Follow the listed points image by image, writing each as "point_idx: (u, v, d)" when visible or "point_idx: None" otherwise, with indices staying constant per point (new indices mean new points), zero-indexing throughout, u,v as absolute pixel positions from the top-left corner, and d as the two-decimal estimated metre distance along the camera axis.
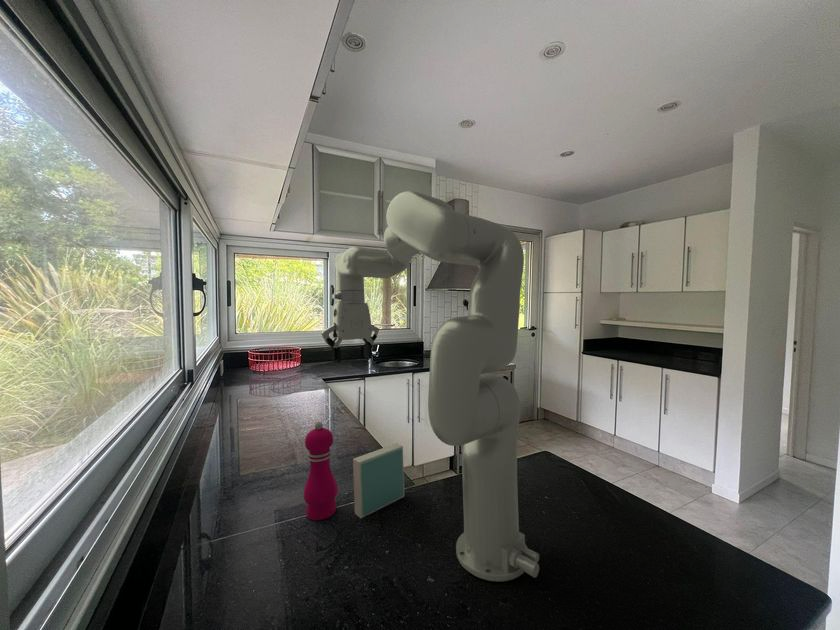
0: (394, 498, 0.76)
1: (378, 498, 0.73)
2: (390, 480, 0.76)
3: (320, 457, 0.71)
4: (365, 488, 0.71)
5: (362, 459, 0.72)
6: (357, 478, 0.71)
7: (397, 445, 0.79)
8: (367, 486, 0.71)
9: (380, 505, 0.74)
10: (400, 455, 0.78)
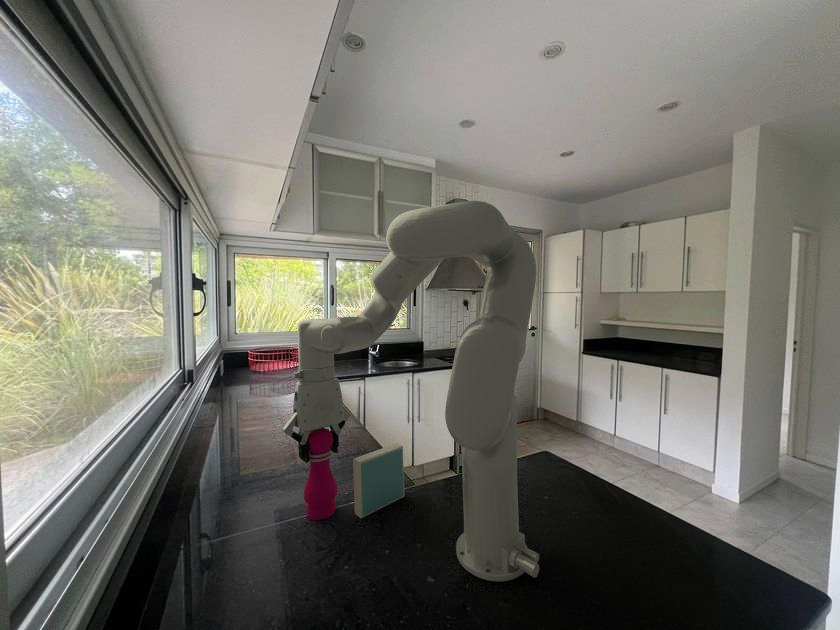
0: (394, 498, 0.76)
1: (378, 498, 0.73)
2: (390, 480, 0.76)
3: (320, 457, 0.71)
4: (365, 488, 0.71)
5: (362, 459, 0.72)
6: (357, 478, 0.71)
7: (397, 445, 0.79)
8: (367, 486, 0.71)
9: (380, 505, 0.74)
10: (400, 455, 0.78)
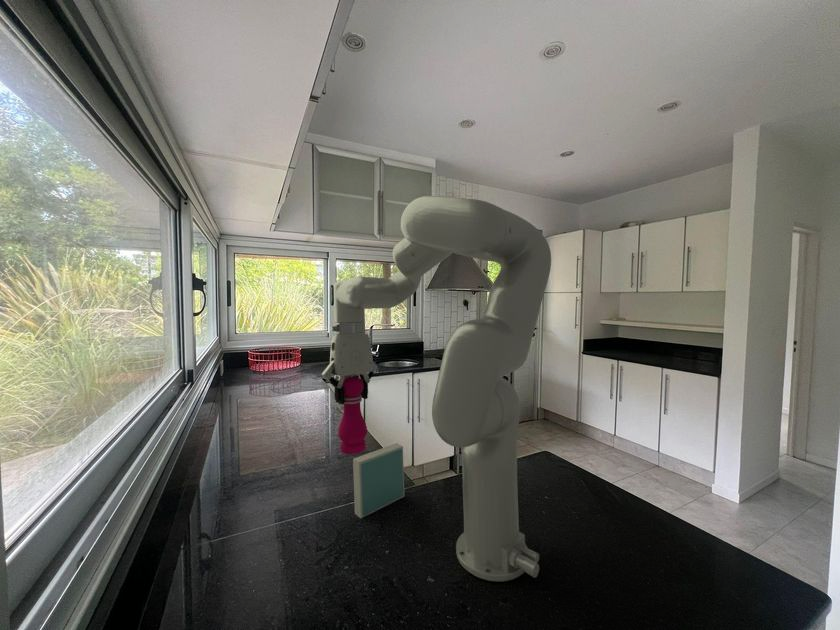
0: (394, 498, 0.76)
1: (378, 498, 0.73)
2: (390, 480, 0.76)
3: (353, 400, 0.82)
4: (365, 488, 0.71)
5: (362, 459, 0.72)
6: (357, 478, 0.71)
7: (397, 445, 0.79)
8: (367, 486, 0.71)
9: (380, 505, 0.74)
10: (400, 455, 0.78)
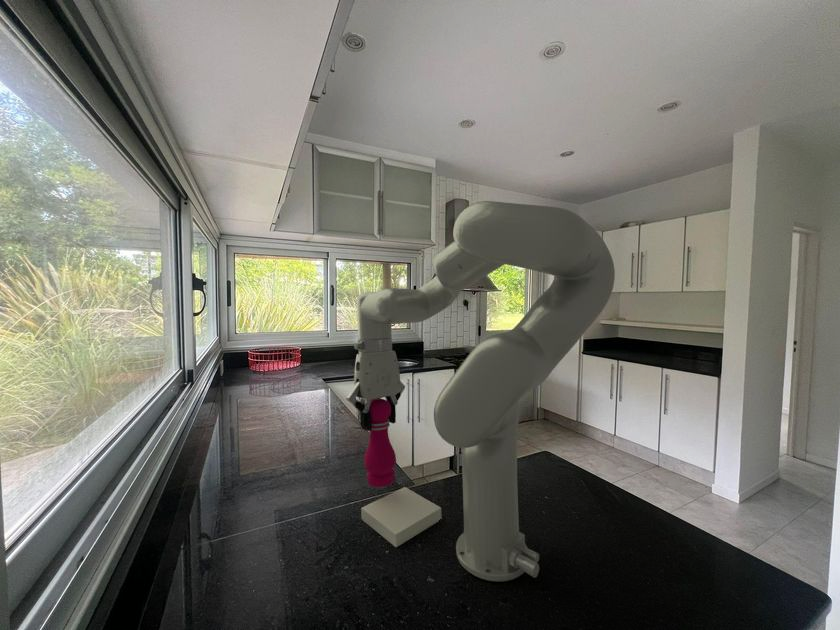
0: None
1: None
2: None
3: (381, 426, 0.73)
4: None
5: (401, 539, 0.62)
6: (384, 534, 0.64)
7: (439, 515, 0.69)
8: None
9: None
10: None
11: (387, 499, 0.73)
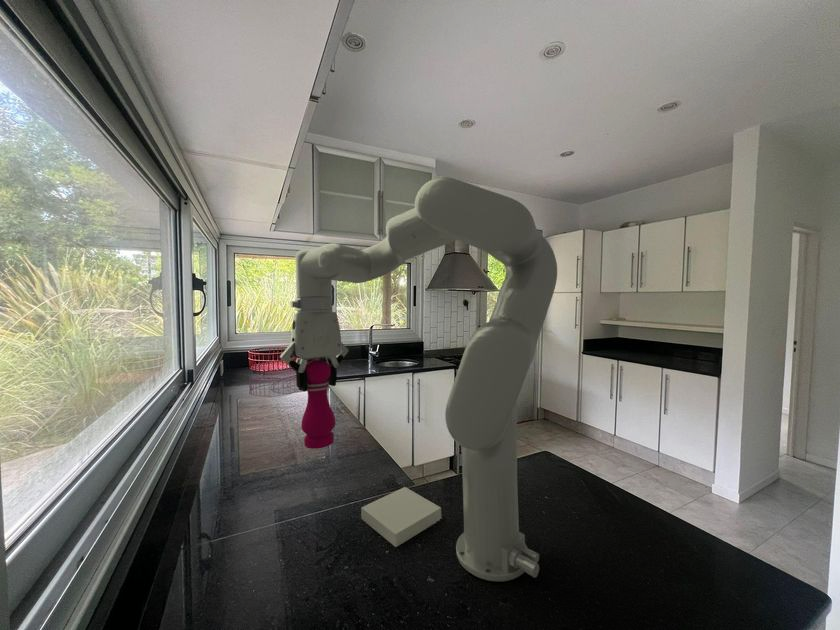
0: None
1: None
2: None
3: (318, 386, 0.71)
4: None
5: (401, 539, 0.62)
6: (384, 534, 0.64)
7: (439, 515, 0.69)
8: None
9: None
10: None
11: (387, 499, 0.73)
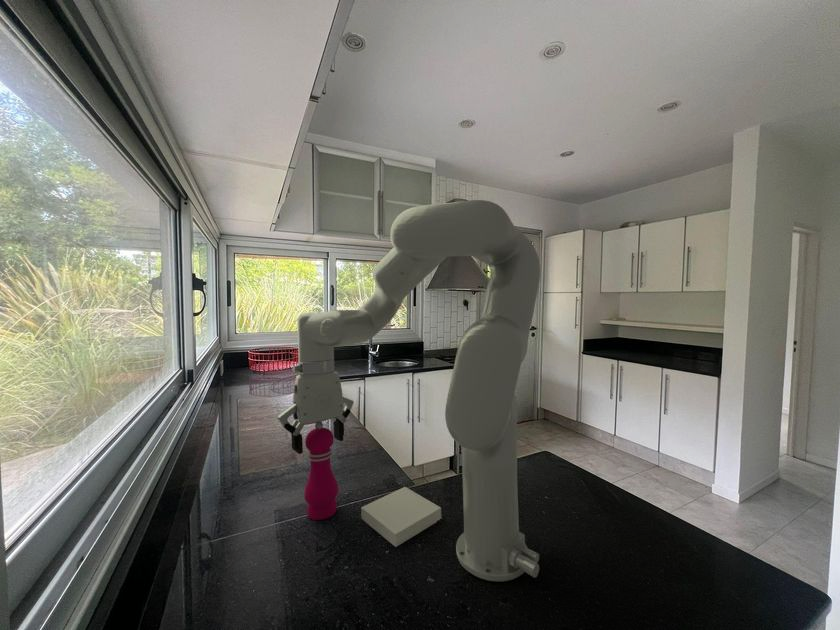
0: None
1: None
2: None
3: (321, 457, 0.71)
4: None
5: (401, 539, 0.62)
6: (384, 534, 0.64)
7: (438, 515, 0.69)
8: None
9: None
10: None
11: (387, 499, 0.73)
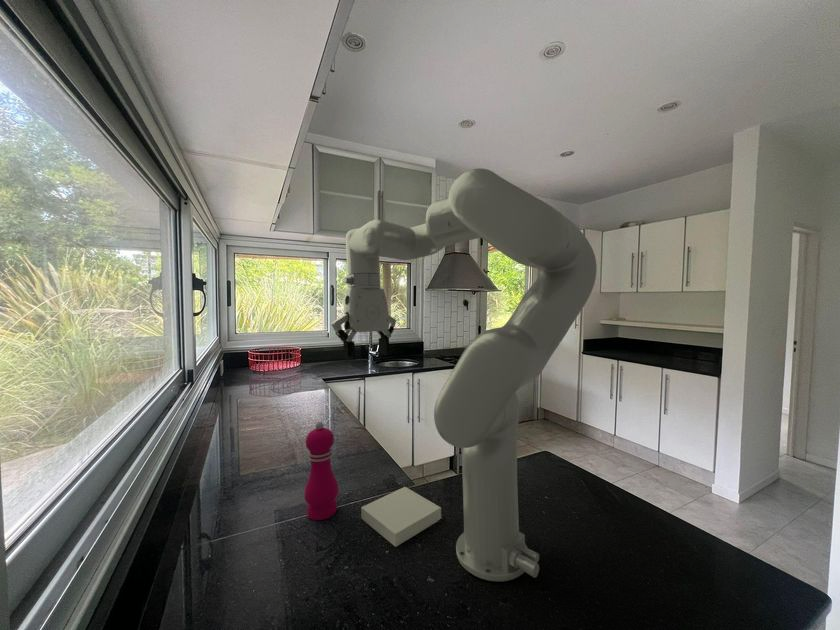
0: None
1: None
2: None
3: (321, 457, 0.71)
4: None
5: (401, 539, 0.62)
6: (383, 534, 0.64)
7: (438, 514, 0.69)
8: None
9: None
10: None
11: (387, 499, 0.73)
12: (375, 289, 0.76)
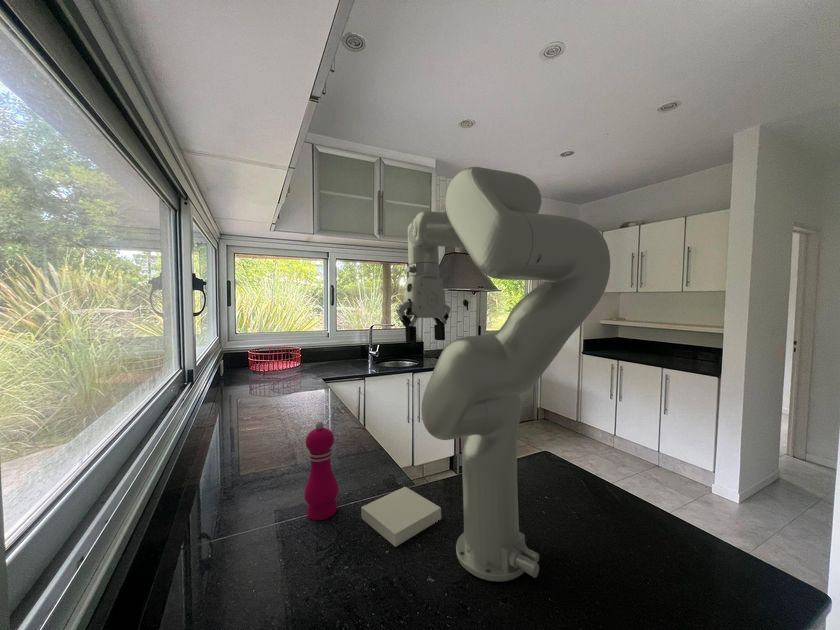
0: None
1: None
2: None
3: (321, 457, 0.71)
4: None
5: (401, 539, 0.62)
6: (383, 534, 0.64)
7: (438, 515, 0.69)
8: None
9: None
10: None
11: (387, 499, 0.73)
12: (434, 278, 0.81)
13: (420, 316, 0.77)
